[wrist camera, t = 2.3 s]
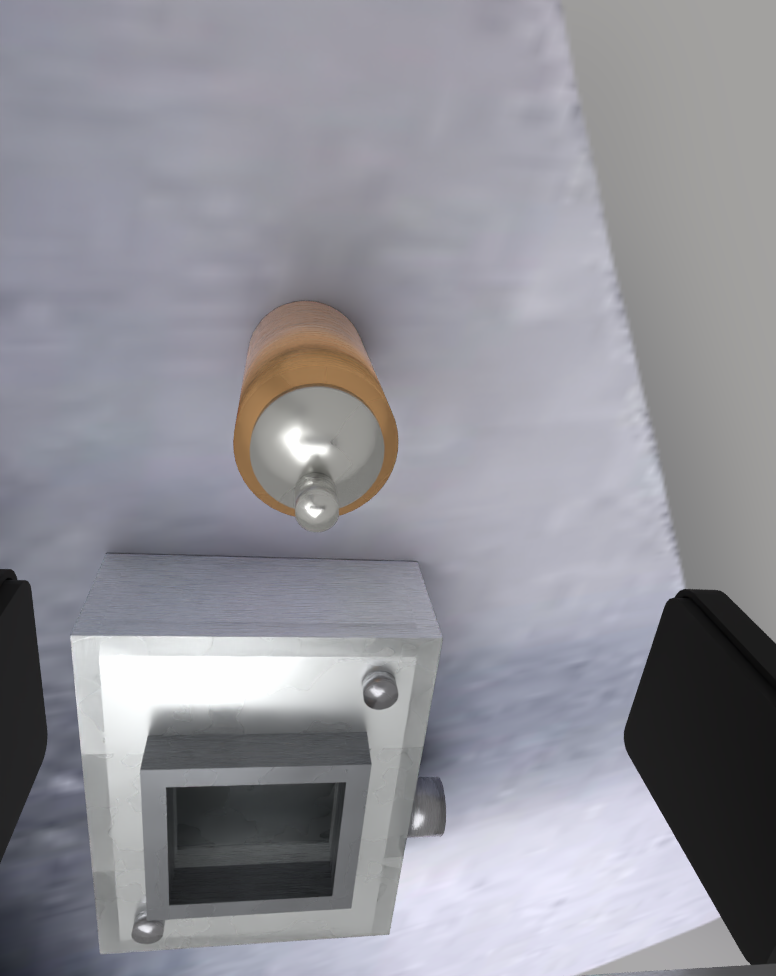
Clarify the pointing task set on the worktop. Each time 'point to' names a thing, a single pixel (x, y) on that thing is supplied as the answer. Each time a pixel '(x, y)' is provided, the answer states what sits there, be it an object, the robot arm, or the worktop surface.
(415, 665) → the plate
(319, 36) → the worktop surface
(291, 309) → the spout can
